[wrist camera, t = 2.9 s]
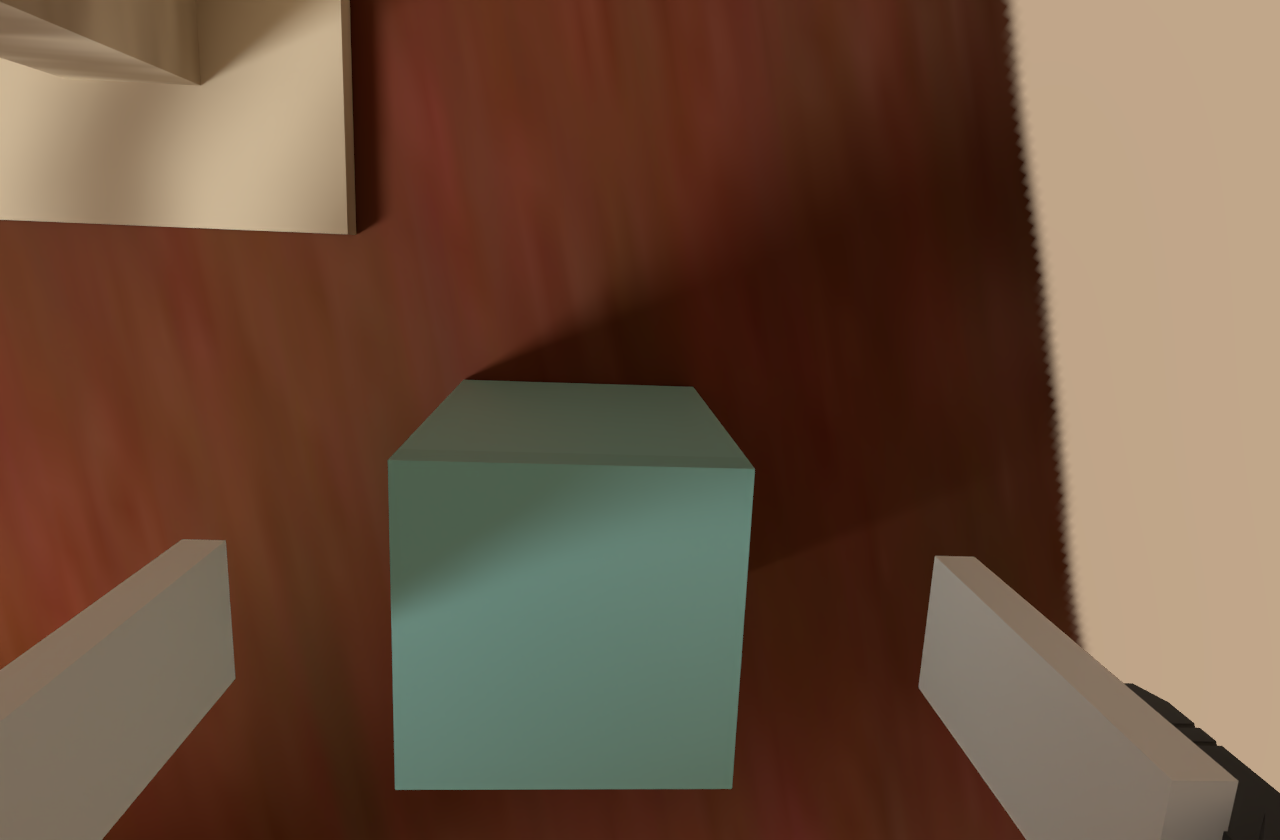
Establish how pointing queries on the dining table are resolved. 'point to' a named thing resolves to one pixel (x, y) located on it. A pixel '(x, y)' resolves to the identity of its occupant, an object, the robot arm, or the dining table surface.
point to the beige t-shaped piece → (178, 113)
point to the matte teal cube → (567, 589)
